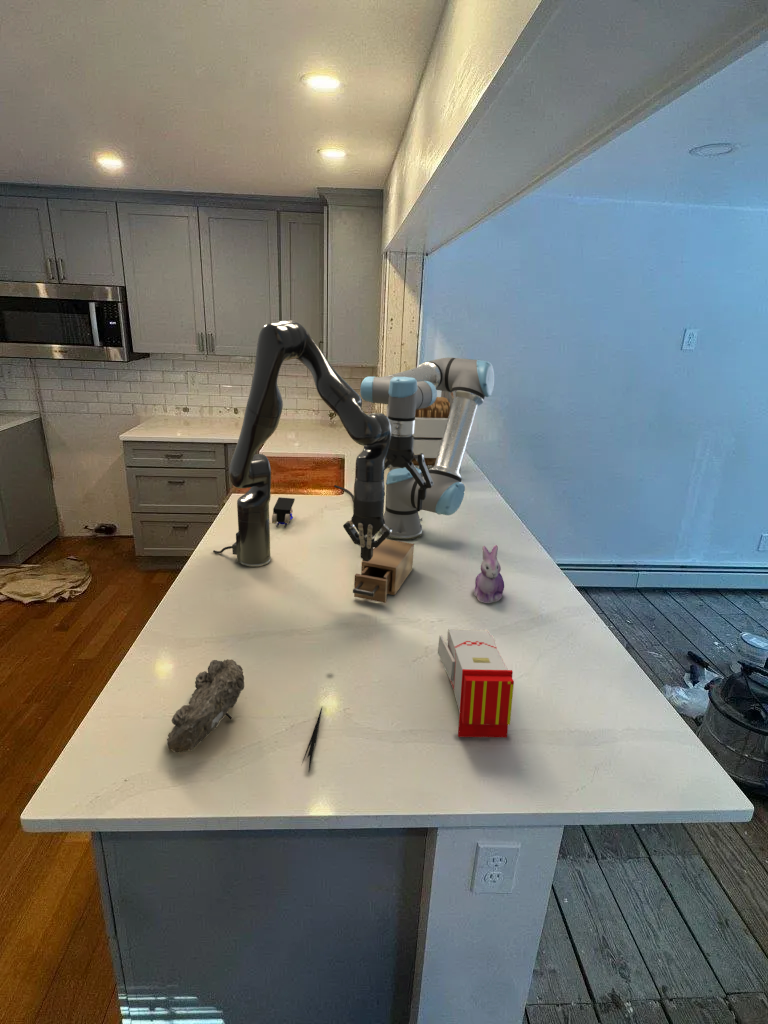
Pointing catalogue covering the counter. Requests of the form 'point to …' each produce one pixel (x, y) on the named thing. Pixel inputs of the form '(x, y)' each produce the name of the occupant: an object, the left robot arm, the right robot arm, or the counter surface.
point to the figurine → (489, 578)
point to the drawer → (373, 584)
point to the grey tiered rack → (430, 429)
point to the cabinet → (393, 561)
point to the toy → (478, 682)
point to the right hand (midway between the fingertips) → (396, 506)
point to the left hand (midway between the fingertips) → (366, 560)
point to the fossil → (206, 705)
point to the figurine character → (283, 511)
